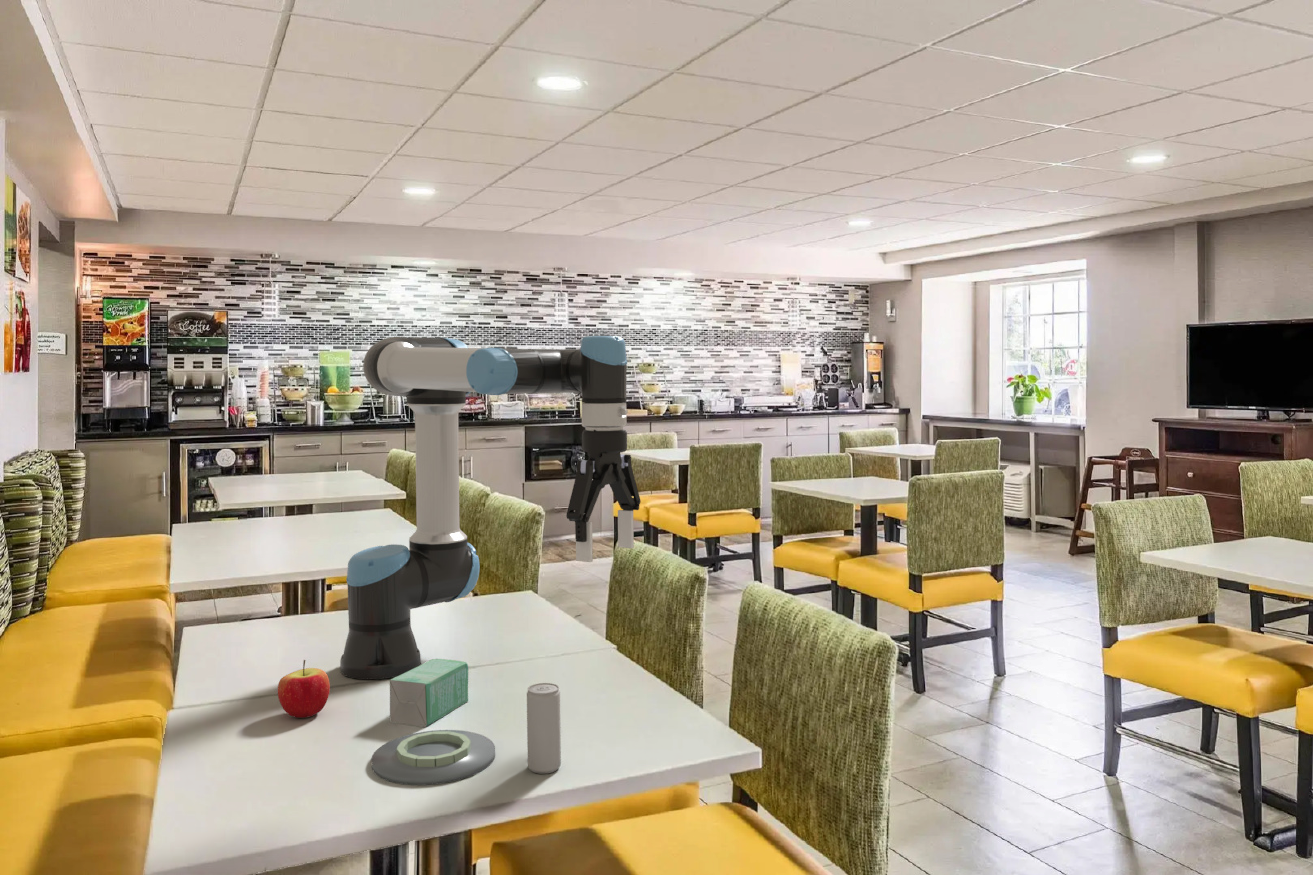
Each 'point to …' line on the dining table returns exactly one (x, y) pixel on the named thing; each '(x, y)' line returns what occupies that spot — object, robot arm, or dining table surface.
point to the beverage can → (543, 728)
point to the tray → (433, 757)
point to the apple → (304, 692)
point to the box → (428, 692)
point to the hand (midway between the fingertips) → (605, 554)
